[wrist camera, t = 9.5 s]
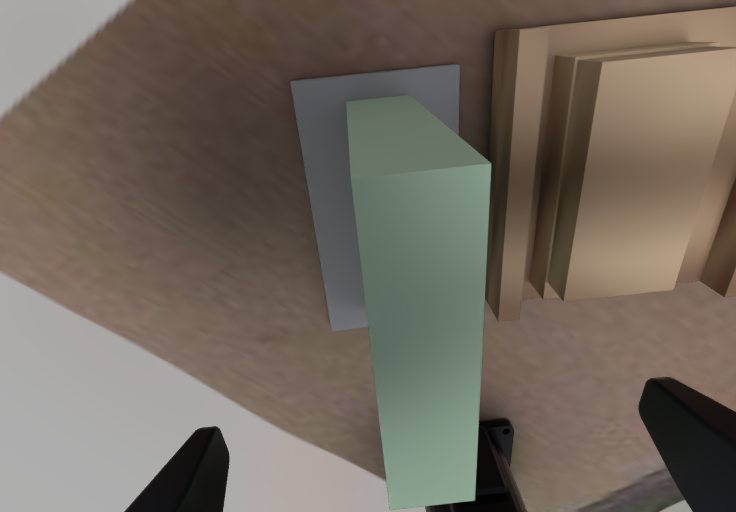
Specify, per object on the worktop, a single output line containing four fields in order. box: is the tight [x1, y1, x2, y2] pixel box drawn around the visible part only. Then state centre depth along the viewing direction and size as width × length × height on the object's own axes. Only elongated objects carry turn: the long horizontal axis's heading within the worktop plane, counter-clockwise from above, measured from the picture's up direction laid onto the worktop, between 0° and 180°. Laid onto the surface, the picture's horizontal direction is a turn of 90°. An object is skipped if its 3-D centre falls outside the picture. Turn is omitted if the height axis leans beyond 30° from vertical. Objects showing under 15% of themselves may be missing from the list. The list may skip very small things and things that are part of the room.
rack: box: [485, 6, 736, 322], centre depth 18 cm, size 12×16×2 cm
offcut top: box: [548, 46, 736, 302], centre depth 16 cm, size 9×5×2 cm, turn 5°
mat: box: [290, 64, 460, 331], centre depth 19 cm, size 12×6×1 cm, turn 5°
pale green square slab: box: [346, 95, 491, 510], centre depth 14 cm, size 10×2×10 cm, turn 5°
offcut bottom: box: [530, 42, 720, 299], centre depth 17 cm, size 10×5×2 cm, turn 5°
